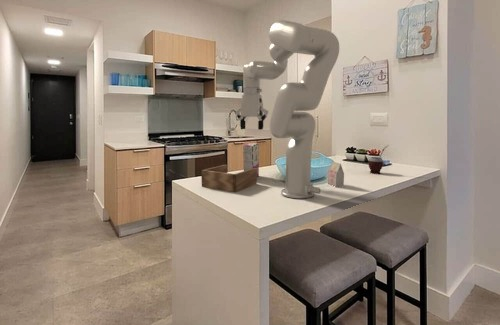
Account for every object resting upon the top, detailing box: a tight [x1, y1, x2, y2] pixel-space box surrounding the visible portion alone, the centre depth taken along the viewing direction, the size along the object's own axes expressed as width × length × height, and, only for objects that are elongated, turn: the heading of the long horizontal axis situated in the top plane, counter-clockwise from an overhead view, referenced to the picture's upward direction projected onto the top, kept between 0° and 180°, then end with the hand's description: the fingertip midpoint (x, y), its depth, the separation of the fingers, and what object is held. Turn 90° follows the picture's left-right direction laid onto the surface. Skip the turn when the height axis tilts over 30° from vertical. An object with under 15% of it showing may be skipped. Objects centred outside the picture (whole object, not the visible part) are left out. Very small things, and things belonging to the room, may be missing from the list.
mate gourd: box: [367, 144, 390, 175], centre depth 159 cm, size 8×8×15 cm
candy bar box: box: [242, 142, 260, 178], centre depth 147 cm, size 11×5×16 cm, turn 164°
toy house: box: [327, 161, 345, 188], centre depth 133 cm, size 4×7×10 cm, turn 15°
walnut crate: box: [200, 164, 258, 193], centre depth 133 cm, size 17×17×7 cm
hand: (251, 129), depth 144 cm, fingers open, 9 cm apart
